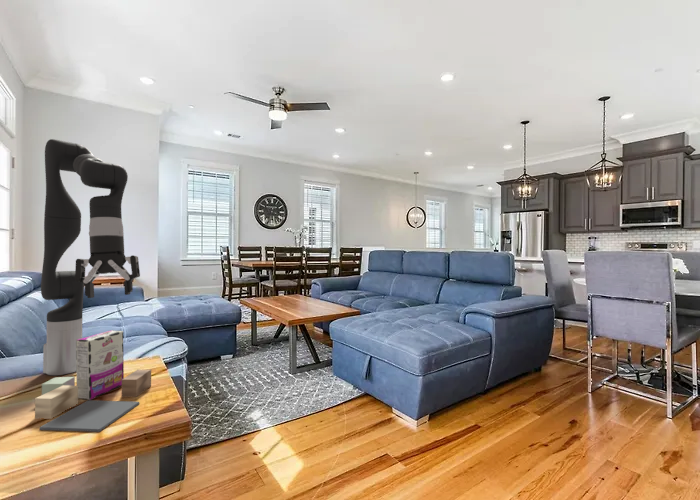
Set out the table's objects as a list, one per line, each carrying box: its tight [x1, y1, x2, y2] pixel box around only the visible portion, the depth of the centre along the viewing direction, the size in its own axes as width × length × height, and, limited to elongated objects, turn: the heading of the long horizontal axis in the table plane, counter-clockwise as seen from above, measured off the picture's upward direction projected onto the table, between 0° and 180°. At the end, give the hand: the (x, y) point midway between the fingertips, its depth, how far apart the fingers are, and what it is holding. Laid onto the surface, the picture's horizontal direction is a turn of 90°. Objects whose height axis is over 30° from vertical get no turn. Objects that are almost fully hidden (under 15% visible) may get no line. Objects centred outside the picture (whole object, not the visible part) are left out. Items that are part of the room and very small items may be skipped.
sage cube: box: [41, 376, 76, 395], centre depth 95 cm, size 5×5×5 cm
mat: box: [39, 399, 140, 433], centre depth 85 cm, size 14×14×1 cm
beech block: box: [34, 385, 79, 420], centre depth 88 cm, size 8×4×5 cm, turn 178°
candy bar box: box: [75, 329, 125, 401], centre depth 100 cm, size 11×5×16 cm, turn 168°
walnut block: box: [120, 369, 152, 398], centre depth 100 cm, size 8×4×5 cm, turn 3°
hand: (109, 296), depth 92 cm, fingers open, 8 cm apart
